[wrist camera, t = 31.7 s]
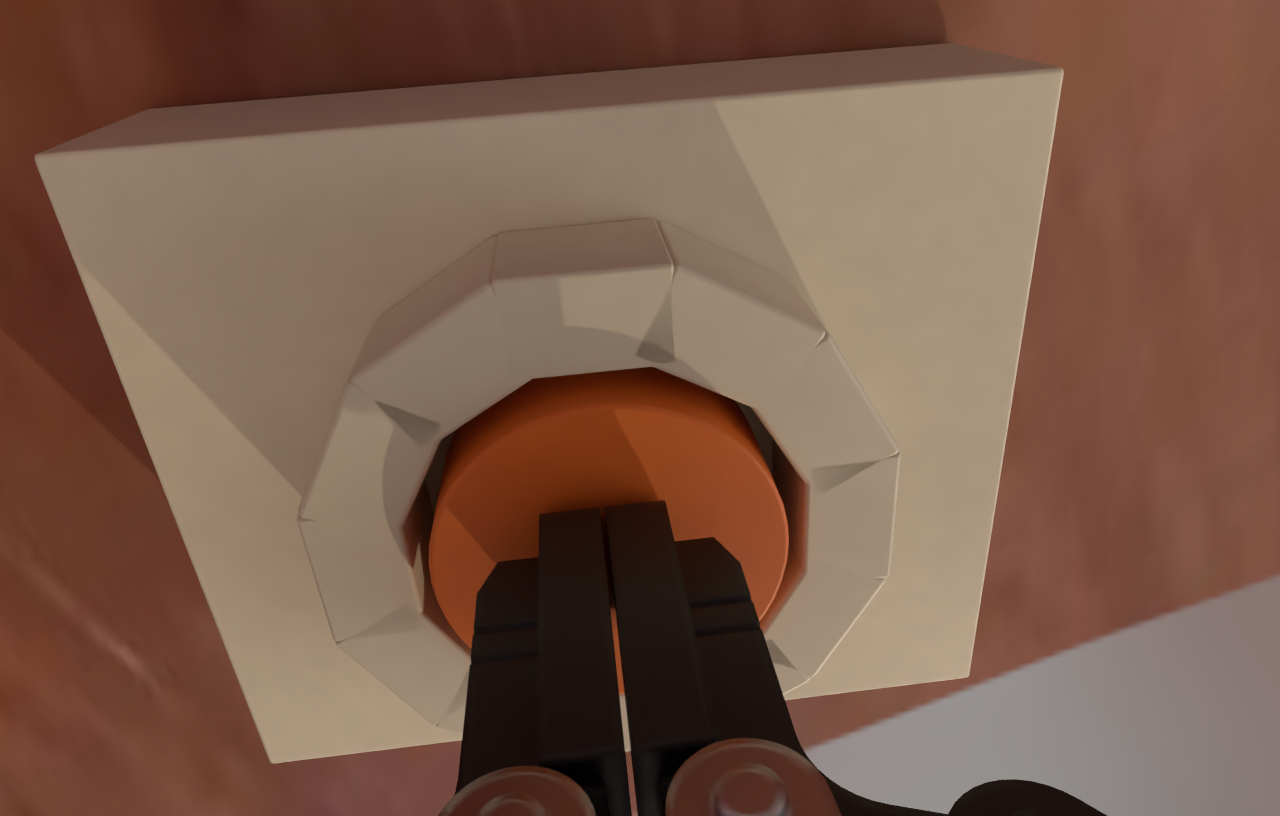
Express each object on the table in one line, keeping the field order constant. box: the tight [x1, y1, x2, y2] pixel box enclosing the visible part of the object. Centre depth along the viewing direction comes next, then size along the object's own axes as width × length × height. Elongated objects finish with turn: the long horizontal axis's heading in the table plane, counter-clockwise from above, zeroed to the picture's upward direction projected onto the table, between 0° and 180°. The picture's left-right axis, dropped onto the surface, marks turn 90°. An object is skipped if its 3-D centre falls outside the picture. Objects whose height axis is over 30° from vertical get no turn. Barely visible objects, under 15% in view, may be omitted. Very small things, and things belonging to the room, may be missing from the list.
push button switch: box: [429, 367, 789, 694], centre depth 11 cm, size 4×4×2 cm
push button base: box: [35, 43, 1064, 763], centre depth 13 cm, size 12×10×5 cm
